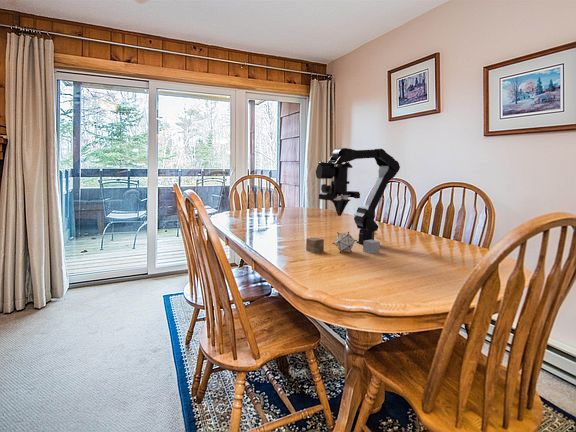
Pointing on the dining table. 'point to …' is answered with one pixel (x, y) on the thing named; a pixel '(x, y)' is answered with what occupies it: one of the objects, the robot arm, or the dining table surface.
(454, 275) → the dining table surface
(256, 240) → the dining table surface
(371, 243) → the slate block
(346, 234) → the game die
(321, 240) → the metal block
